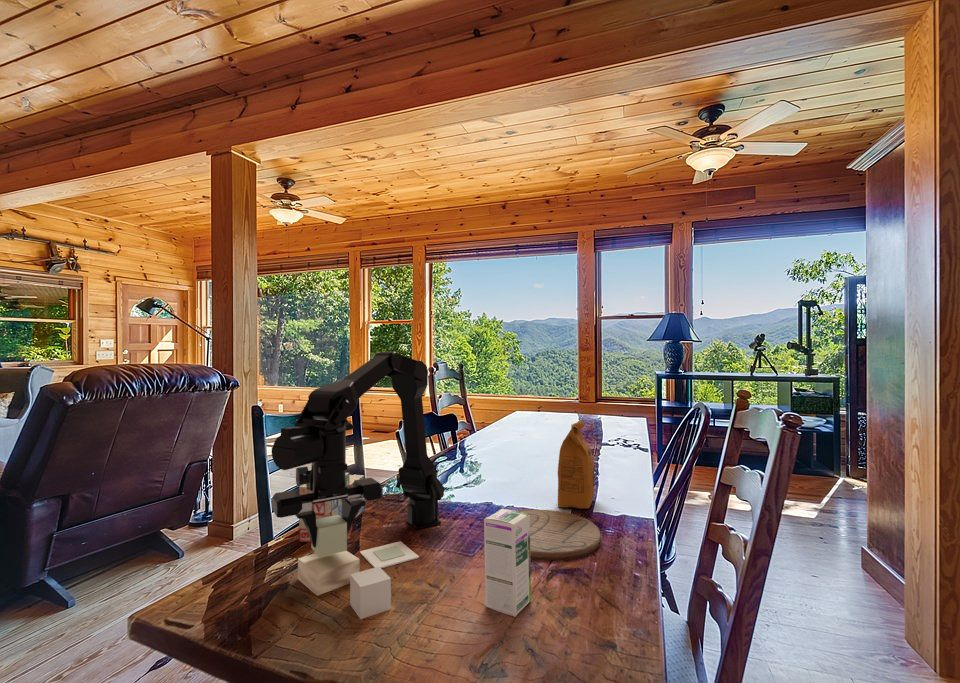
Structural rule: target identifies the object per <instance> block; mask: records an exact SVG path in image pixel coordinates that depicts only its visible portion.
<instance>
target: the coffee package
mask: <svg viewBox="0 0 960 683" xmlns="http://www.w3.org/2000/svg"><path fill="white" fill-rule="evenodd" d="M585 426H586V425H585V423H584V422H583V420H578V421H577V422H575V423H573V424H571V426H570V430H569V431H568V433H567V435H566V437H565V438H564V439H563V441H562V442H561V443H562V444H560V445H561V446H560V449H559V454H558V464H557V507H559V508H562V509H563V508H568V507H570V508H571V507H572V508H575V509H582V510H583V509H589V508H590V507H591V505H592V503H593V500H594V497H595V481H596V480H595V478H596V472H595V461H594V460H595V459H594V456H593V453H592V450H591V447H590V446H589V444H588V443H587V441H586V440H585V437H584V435H583V433H582V429H583V428H585ZM572 508H571V509H572Z"/></svg>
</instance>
